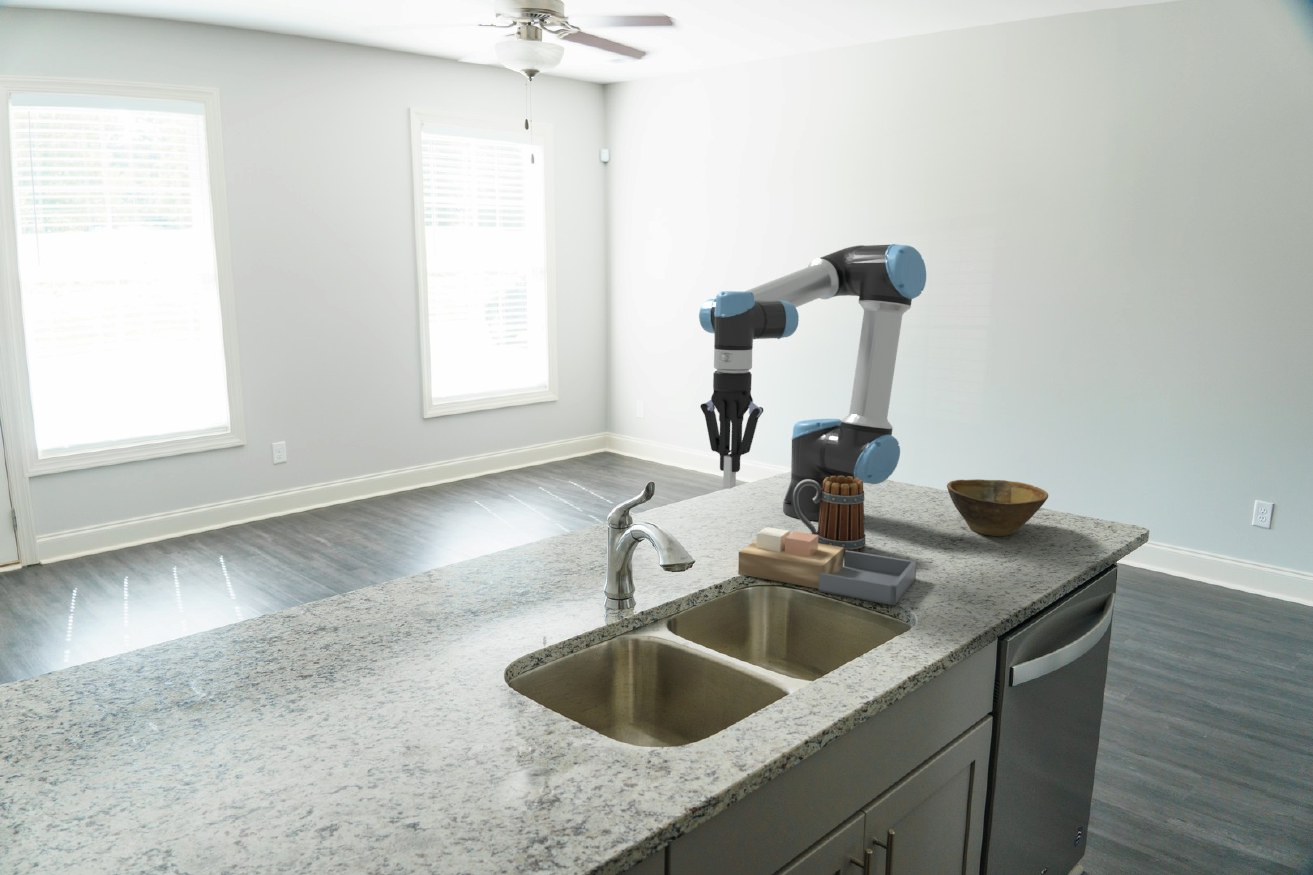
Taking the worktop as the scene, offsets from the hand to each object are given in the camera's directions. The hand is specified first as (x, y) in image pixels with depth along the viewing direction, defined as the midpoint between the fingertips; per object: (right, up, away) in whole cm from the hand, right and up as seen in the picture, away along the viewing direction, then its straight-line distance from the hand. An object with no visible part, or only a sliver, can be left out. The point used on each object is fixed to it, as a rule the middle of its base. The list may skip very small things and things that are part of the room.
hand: (729, 486), depth 179 cm
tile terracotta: (+14, -12, -5) cm, 19 cm away
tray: (+25, -18, -11) cm, 33 cm away
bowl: (+63, -12, +25) cm, 68 cm away
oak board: (+12, -16, -3) cm, 21 cm away
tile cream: (+8, -12, -2) cm, 15 cm away
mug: (+22, -14, +12) cm, 29 cm away
